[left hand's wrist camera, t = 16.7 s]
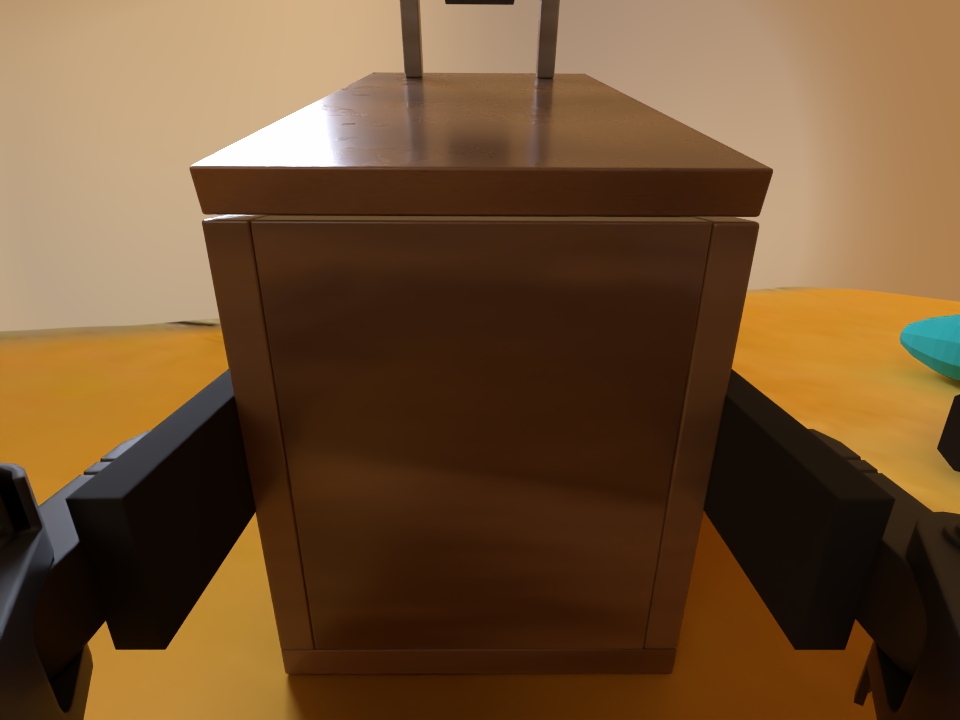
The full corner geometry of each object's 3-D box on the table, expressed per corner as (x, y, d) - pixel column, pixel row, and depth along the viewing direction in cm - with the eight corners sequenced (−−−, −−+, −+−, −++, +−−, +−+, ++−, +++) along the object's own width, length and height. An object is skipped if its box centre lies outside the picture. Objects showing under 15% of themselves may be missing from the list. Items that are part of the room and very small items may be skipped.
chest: (391, 390, 28) (378, 182, 24) (564, 391, 28) (579, 183, 24) (285, 674, 13) (199, 219, 9) (673, 674, 13) (762, 222, 9)
